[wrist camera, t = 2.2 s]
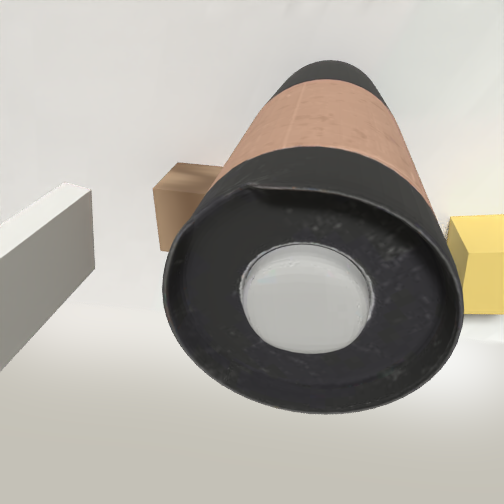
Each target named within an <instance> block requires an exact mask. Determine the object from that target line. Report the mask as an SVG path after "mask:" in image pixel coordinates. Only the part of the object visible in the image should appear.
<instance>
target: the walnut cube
mask: <svg viewBox="0 0 504 504" xmlns="http://www.w3.org/2000/svg"><path fill="white" fill-rule="evenodd" d="M222 168H223V167H219V166H209V165H199V164H188V163H177V164H176V165H175V166H174V167H173V168H172V169H171V170H170V171H169V172H168V173H167V174H166V175H165V176H164V177H163V178H162V179H161V180H160V181H159V182H158V184H157V185H156V186H155V187H154V188H153V195H154V203H155V211H156V219H157V227H158V235H159V243H160V250H161V251H166V252H169V250H170V247H171V245H172V243H173V240H174V239H175V237H176V235H177V233H178V232H179V231H180V229H181V228H182V227H183V225H184V224H185V223H186V222H187V221H188V220H189V219H190V217H191V216H192V214H193V213H194V211H195V210H196V208H197V207H198V205H199V204H200V202H201V201H202V199H203V198H204V196H205V194H206V193H207V191H208V190H209V188H210V187H211V185H212V184H213V182H214V181H215V179H216V178H217V176H218V174H219V173H220V171H221V170H222Z"/></svg>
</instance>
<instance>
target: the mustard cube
mask: <svg viewBox="0 0 504 504" xmlns="http://www.w3.org/2000/svg"><path fill="white" fill-rule="evenodd" d="M447 245H448V248H449V250H450V252H451V255H452V257H453V260H454V262H455V264H456V267H457V271H458V274H459V278H460V282H461V285H462V289H463V300H464V314H504V214H500V215H477V216H453V217H450V223H449V231H448V238H447Z"/></svg>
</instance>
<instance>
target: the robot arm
mask: <svg viewBox="0 0 504 504" xmlns="http://www.w3.org/2000/svg"><path fill="white" fill-rule="evenodd" d="M94 269H95V258H94V237H93V216H92V195H91V189H88V188H84V187H80V186H77V185H73V184H70V183H66V182H64V183H63V184H61V185H60V186H58V187H57V188H55V189H53V190H52V191H50V192H49V193H47V194H46V195H44V196H43V197H41V198H40V199H38V200H37V201H35V202H34V203H32V204H31V205H29V206H28V207H26V208H25V209H23V210H22V211H20V212H19V213H17V214H16V215H14V216H13V217H11V218H10V219H8V220H7V221H5V222H4V223H2V224H1V225H0V371H1V370H2V369H3V368H4V367H5V366H6V365H7V364H8V363H9V362H10V360H11V359H12V358H13V357H14V356H15V355H16V354H17V353H18V352H19V351H20V349H22V348H23V346H24V345H25V344H26V343H27V342H28V341H29V340H30V339H31V338H32V337H33V336H34V334H35V333H36V332H37V331H38V330H39V329H40V328H41V327H42V326H43V325H44V323H45V322H46V321H47V320H48V319H49V318H50V317H51V316H52V315H53V314H54V313H55V312H56V310H57V309H58V308H59V307H60V306H61V305H62V304H63V303H64V302H65V301H66V300H67V298H68V297H69V296H70V295H71V294H72V293H73V292H74V291H75V290H76V289H77V288H78V287H79V285H80V284H81V283H82V282H83V281H84V280H85V279H86V278H87V277H88V276H89V275H90V273H91V272H92V271H93V270H94Z"/></svg>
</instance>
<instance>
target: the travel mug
mask: <svg viewBox="0 0 504 504" xmlns="http://www.w3.org/2000/svg"><path fill="white" fill-rule="evenodd" d="M162 293H163V304H164V309H165V313H166V317H167V320H168V323H169V325H170V327H171V330H172V332H173V334H174V336H175V337H176V339H177V341H178V342H179V344H180V346H181V347H182V348H183V350H184V351H185V352H186V354H187V355H188V356H189V357H190V358H191V359H192V360H193V361H194V362H195V364H196V365H197V366H198V367H200V368H201V369H202V370H203V371H204V372H205V373H207V374H208V375H209V376H210V377H211V378H213V379H214V380H216V381H217V382H219V383H220V384H221V385H223V386H225V387H226V388H228V389H230V390H232V391H233V392H235V393H237V394H239V395H242V396H244V397H246V398H248V399H250V400H253V401H256V402H258V403H261V404H264V405H268V406H271V407H275V408H278V409H283V410H288V411H293V412H301V413H308V414H344V413H352V412H359V411H364V410H369V409H373V408H376V407H380V406H383V405H386V404H389V403H392V402H394V401H396V400H398V399H400V398H403V397H405V396H407V395H408V394H410V393H412V392H414V391H415V390H417V389H418V388H420V387H421V386H422V385H424V384H425V383H426V382H428V381H429V380H430V379H431V378H432V377H433V376H434V375H435V374H436V373H437V372H438V371H439V370H440V369H441V368H442V367H443V365H444V364H445V363H446V362H447V360H448V359H449V358H450V356H451V354H452V352H453V350H454V348H455V346H456V344H457V342H458V339H459V336H460V332H461V329H462V326H463V317H464V300H463V289H462V285H461V282H460V278H459V274H458V271H457V267H456V264H455V262H454V260H453V257H452V255H451V252H450V250H449V248H448V245H447V243H446V240H445V238H444V235H443V233H442V231H441V228H440V226H439V224H438V221H437V219H436V216H435V214H434V211H433V209H432V207H431V204H430V202H429V199H428V197H427V194H426V192H425V190H424V187H423V185H422V182H421V180H420V177H419V175H418V173H417V170H416V168H415V165H414V163H413V161H412V158H411V156H410V153H409V151H408V148H407V146H406V144H405V141H404V139H403V136H402V134H401V131H400V129H399V127H398V125H397V123H396V120H395V118H394V117H393V115H392V113H391V111H390V110H389V108H388V106H387V105H386V103H385V102H384V100H383V98H382V97H381V95H380V93H379V92H378V90H377V89H376V87H375V86H374V84H373V83H372V81H371V80H370V79H369V78H368V77H367V76H366V74H364V73H363V72H362V71H361V70H359V69H358V68H356V67H354V66H353V65H350V64H348V63H345V62H341V61H333V60H327V61H319V62H315V63H312V64H309V65H307V66H305V67H303V68H301V69H300V70H298V71H297V72H295V73H294V74H293V75H292V76H291V77H290V78H288V79H287V80H286V82H285V83H284V84H283V85H282V86H281V87H280V88H279V90H278V91H277V92H276V93H275V94H274V95H273V97H272V98H271V99H270V100H269V101H268V102H267V103H266V105H265V106H264V107H263V108H262V109H261V110H260V112H259V113H258V115H257V116H256V118H255V119H254V121H253V122H252V124H251V125H250V127H249V128H248V130H247V131H246V133H245V134H244V136H243V138H242V139H241V141H240V142H239V144H238V145H237V147H236V148H235V150H234V151H233V153H232V154H231V156H230V158H229V159H228V161H227V162H226V164H225V165H224V167H223V168H222V170H221V171H220V173H219V174H218V176H217V178H216V179H215V181H214V182H213V184H212V185H211V187H210V188H209V190H208V191H207V193H206V194H205V196H204V198H203V199H202V201H201V202H200V204H199V205H198V207H197V208H196V210H195V211H194V213H193V214H192V216H191V217H190V219H189V220H188V221H187V222H186V223H185V224H184V225H183V227H182V228H181V229H180V231H179V232H178V233H177V235H176V237H175V239H174V240H173V243H172V245H171V247H170V250H169V253H168V256H167V260H166V263H165V268H164V274H163V285H162Z"/></svg>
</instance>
